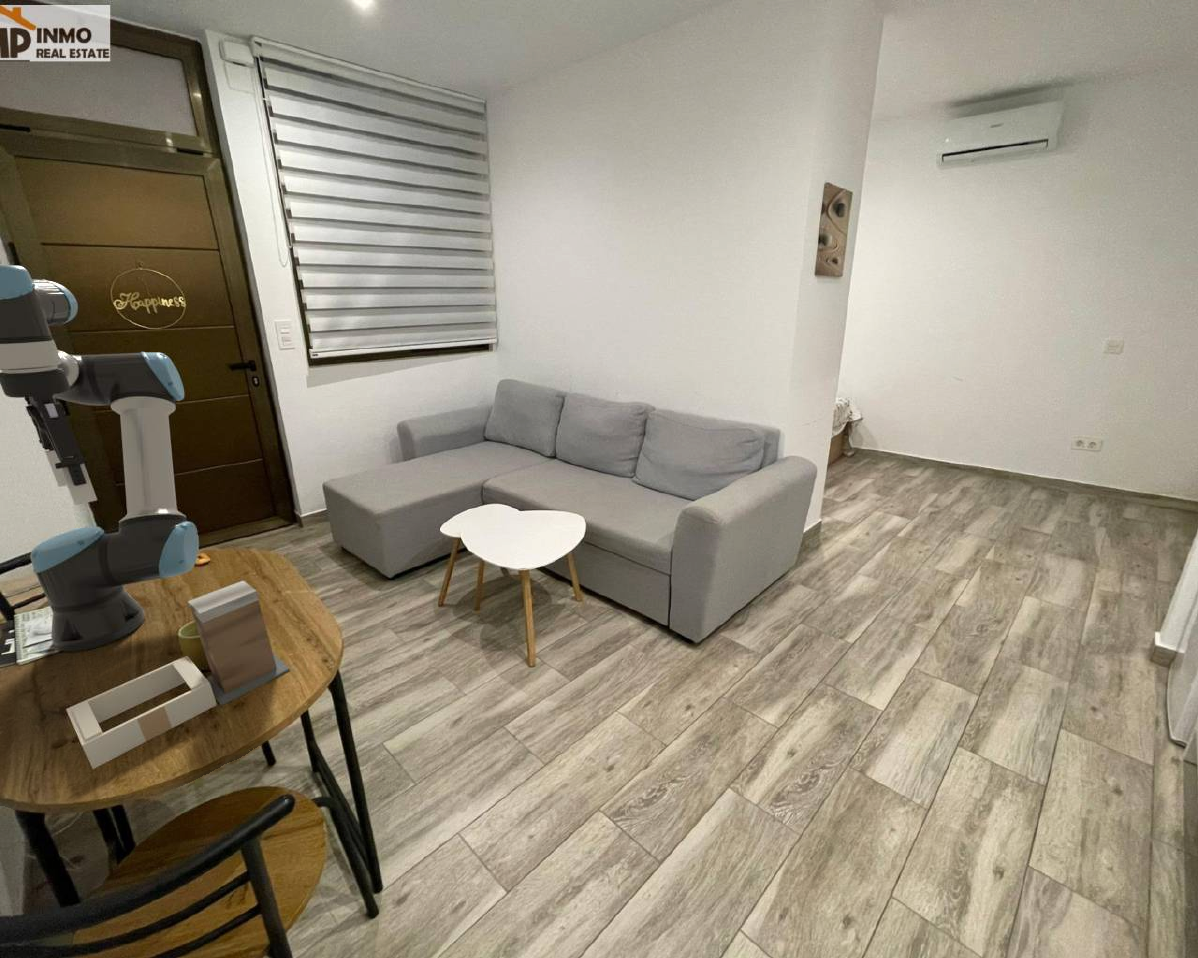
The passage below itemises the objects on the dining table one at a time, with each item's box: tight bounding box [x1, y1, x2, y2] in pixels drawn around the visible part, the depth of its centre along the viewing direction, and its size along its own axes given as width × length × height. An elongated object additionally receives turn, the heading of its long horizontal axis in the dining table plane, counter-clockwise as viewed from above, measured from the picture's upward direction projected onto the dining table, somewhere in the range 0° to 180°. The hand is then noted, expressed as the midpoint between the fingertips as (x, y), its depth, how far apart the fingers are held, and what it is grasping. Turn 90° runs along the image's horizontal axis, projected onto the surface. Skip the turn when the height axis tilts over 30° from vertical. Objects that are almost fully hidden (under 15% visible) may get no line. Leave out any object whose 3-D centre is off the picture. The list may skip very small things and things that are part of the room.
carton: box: [65, 656, 218, 770], centre depth 92 cm, size 12×17×5 cm
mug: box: [177, 620, 210, 672], centre depth 108 cm, size 12×10×10 cm
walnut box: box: [187, 580, 277, 694], centre depth 100 cm, size 6×9×18 cm
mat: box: [205, 652, 291, 706], centre depth 103 cm, size 10×12×1 cm
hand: (77, 493), depth 91 cm, fingers open, 13 cm apart
